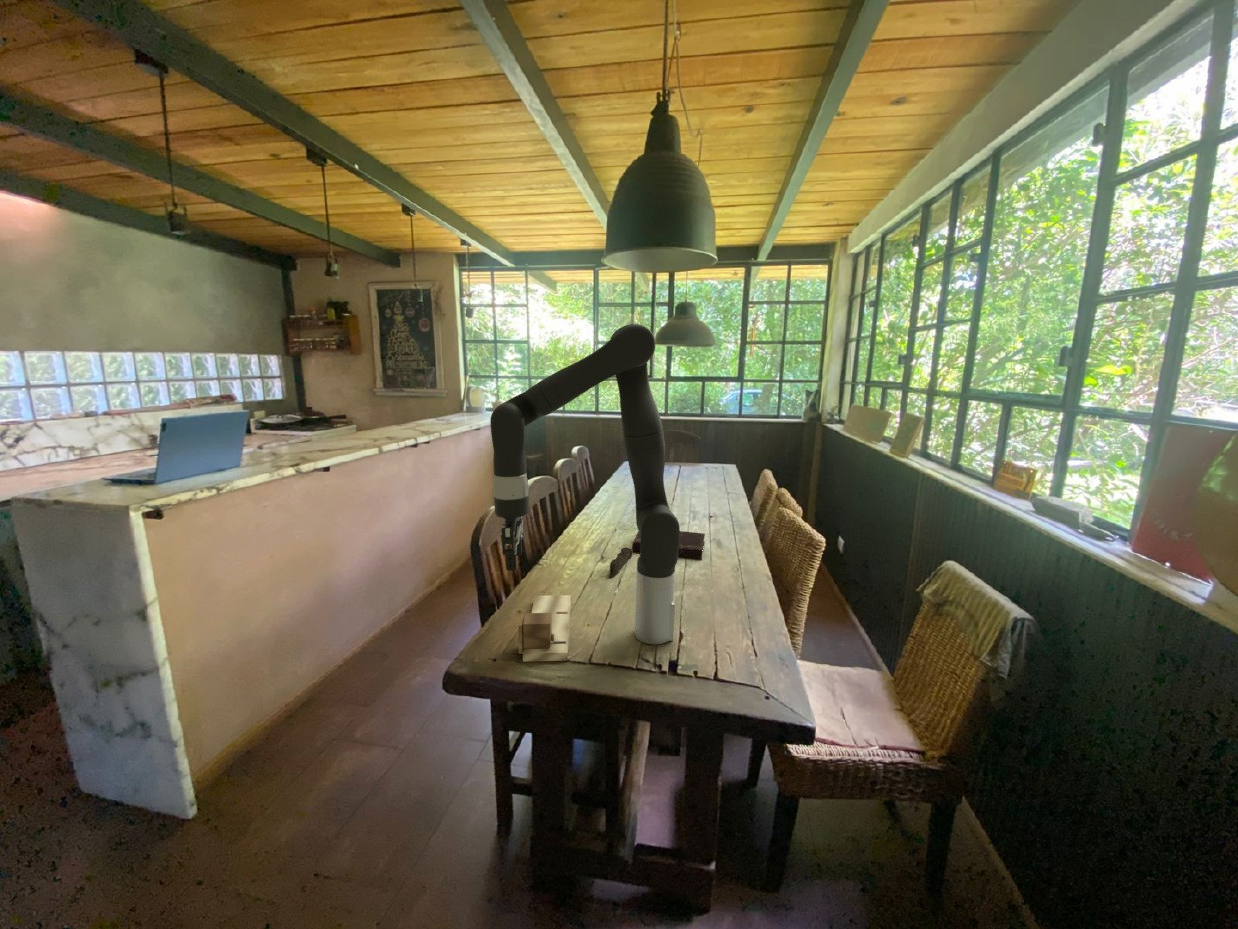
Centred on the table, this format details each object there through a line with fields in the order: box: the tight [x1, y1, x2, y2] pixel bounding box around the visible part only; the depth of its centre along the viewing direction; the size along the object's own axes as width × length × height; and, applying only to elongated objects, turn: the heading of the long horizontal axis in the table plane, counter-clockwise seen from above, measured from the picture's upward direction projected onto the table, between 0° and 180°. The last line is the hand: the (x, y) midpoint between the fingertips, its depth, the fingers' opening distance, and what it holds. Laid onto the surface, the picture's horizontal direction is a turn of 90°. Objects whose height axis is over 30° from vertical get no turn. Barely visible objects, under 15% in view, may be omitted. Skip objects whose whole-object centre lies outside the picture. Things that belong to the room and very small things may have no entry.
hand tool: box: [609, 547, 633, 578], centre depth 160 cm, size 19×4×5 cm, turn 161°
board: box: [522, 594, 572, 663], centre depth 121 cm, size 10×28×2 cm, turn 4°
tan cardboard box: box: [517, 612, 554, 655], centre depth 111 cm, size 8×5×7 cm, turn 94°
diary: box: [631, 530, 706, 561], centre depth 179 cm, size 19×25×5 cm
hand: (514, 562), depth 109 cm, fingers open, 8 cm apart
